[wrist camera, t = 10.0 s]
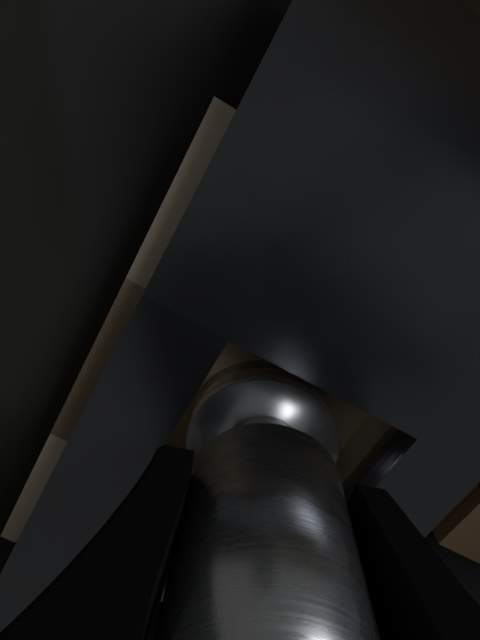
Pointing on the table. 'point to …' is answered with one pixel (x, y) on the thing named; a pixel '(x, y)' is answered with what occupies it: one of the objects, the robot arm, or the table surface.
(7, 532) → the socket board
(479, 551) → the frame
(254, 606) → the steel peg
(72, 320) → the table surface
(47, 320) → the table surface
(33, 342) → the table surface
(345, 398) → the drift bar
